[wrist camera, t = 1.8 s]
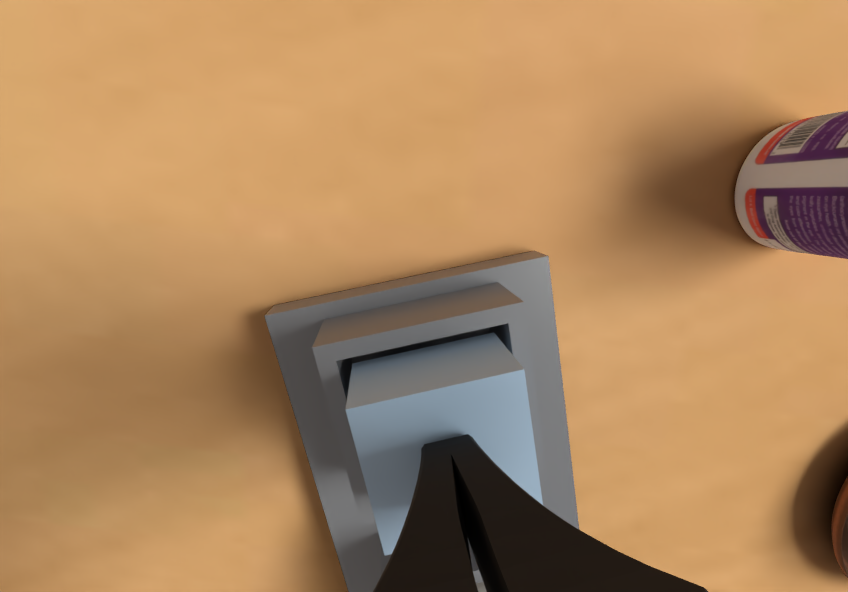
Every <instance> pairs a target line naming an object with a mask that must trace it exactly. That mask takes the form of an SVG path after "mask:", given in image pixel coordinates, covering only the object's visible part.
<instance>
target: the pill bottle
mask: <svg viewBox="0 0 848 592" xmlns="http://www.w3.org/2000/svg"><path fill="white" fill-rule="evenodd" d="M735 209H736V214H737V217H738V220H739V222H740V224H741V226H742V228H743V229H744V231H745V232H746V233H747V234H748V235H749V236H750V237H751V238H752V239H753V240H755V241H756V242H758V243H760V244H762V245H764V246H767V247H770V248H775V249H781V250H786V251H793V252H800V253H808V254H815V255H823V256H831V257H838V258H846V259H848V111H844V112H838V113H832V114H827V115H822V116H816V117H811V118H806V119H802V120H798V121H794V122H790V123H788V124H785V125H783V126H781V127H779V128H777V129H775V130H773V131H772V132H770V133H769V134H767V135H766V136H765V137H764V138H763V139H761V140H760V141H759V142H758V143H757V144H756V145H755V147H754V148H753V149H752V150H751V152H750V153H749V155H748V156H747V158H746V160H745V161H744V163H743V165H742V168H741V170H740V172H739V175H738V179H737V183H736V187H735Z"/></svg>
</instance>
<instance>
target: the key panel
mask: <svg viewBox="0 0 848 592" xmlns="http://www.w3.org/2000/svg"><path fill="white" fill-rule="evenodd" d="M265 320H266V323H267V326H268V329H269V333H270V336H271V339H272V342H273V346H274V349H275V352H276V356H277V359H278V362H279V365H280V369H281V372H282V375H283V378H284V382H285V385H286V388H287V392H288V395H289V398H290V401H291V405H292V408H293V411H294V415H295V418H296V421H297V424H298V428H299V431H300V434H301V437H302V441H303V444H304V447H305V451H306V454H307V457H308V460H309V464H310V467H311V470H312V473H313V477H314V480H315V483H316V487H317V490H318V493H319V496H320V500H321V503H322V506H323V509H324V513H325V516H326V519H327V523H328V526H329V529H330V532H331V536H332V539H333V542H334V545H335V549H336V552H337V555H338V559H339V562H340V565H341V568H342V572H343V575H344V578H345V582H346V585H347V588H348V591H349V592H373V591H374V589H375V587H376V585H377V583H378V581H379V579H380V577H381V575H382V573H383V571H384V569H385V567H386V565H387V563H388V561H389V559H390V557H391V555H392V554H390V555H386V556H385V555H384V551H383V548H382V544H381V540H380V536H379V533H378V529H377V525H376V522H375V518H374V514H373V510H372V507H371V503H370V499H369V495H368V492H367V488H366V484H365V481H364V477H363V473H362V469H361V466H360V462H359V458H358V455H357V451H356V447H355V443H354V440H353V436H352V432H351V428H350V425H349V421H348V417H347V414H346V410H345V409H346V403H347V396H348V389H349V383H350V376H351V370H352V363H357V362H361V361H366V360H371V359H375V358H380V357H384V356H389V355H393V354H398V353H402V352H407V351H411V350H416V349H421V348H425V347H430V346H434V345H439V344H443V343H448V342H452V341H457V340H462V339H466V338H471V337H475V336H480V335H484V334H489V333H493V332H494V333H495V334H496V335H497V337H498V338H499V339H500V340H501V342H502V343H503V344H504V345H505V346H506V348H507V349H508V350H509V351H510V352H511V354H512V355H513V356H514V357H515V359H516V360H517V361H518V362H519V363H520V365H521V366H522V367H523V368H524V371H525V378H526V385H527V392H528V399H529V407H530V414H531V421H532V428H533V436H534V443H535V450H536V457H537V465H538V472H539V479H540V486H541V494H542V501H543V506H545V507H546V508H547V509H549V510H550V511H552V512H553V513H554V514H556V515H557V516H559V517H560V518H562V519H563V520H565V521H566V522H568V523H569V524H571V525H572V526H574V527H576V528H577V529H579V524H578V515H577V506H576V497H575V488H574V480H573V471H572V462H571V453H570V444H569V435H568V427H567V418H566V409H565V400H564V391H563V382H562V373H561V365H560V356H559V347H558V338H557V329H556V320H555V312H554V303H553V294H552V285H551V276H550V267H549V258H548V256H547V255H544V254H542V253H539V252H536V251H531V252H526V253H521V254H516V255H511V256H507V257H502V258H497V259H492V260H488V261H483V262H478V263H473V264H469V265H464V266H459V267H454V268H449V269H445V270H440V271H435V272H430V273H426V274H421V275H416V276H411V277H406V278H402V279H397V280H392V281H387V282H383V283H378V284H373V285H368V286H364V287H359V288H354V289H349V290H344V291H340V292H335V293H330V294H325V295H321V296H316V297H311V298H306V299H301V300H297V301H292V302H287V303H282V304H278V305H274V306H273V307H272V308H271V309H270V310H269V311H268V312H267V313H266V315H265ZM468 543H469V540H468ZM469 550H470V556H471V563H472V569H473V574H474V578H475V582H476V583H480V582H483V580H482V577H481V574H480V571H479V569H478V566H477V563H476V560H475V557H474V554H473V551H472V549H471V546H470V543H469Z"/></svg>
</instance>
